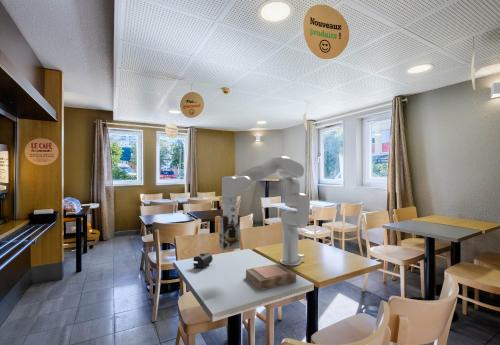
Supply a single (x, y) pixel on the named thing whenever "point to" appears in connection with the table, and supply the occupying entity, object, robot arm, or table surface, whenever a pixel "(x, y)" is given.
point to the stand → (270, 276)
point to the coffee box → (224, 239)
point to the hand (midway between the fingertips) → (229, 235)
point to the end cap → (202, 260)
